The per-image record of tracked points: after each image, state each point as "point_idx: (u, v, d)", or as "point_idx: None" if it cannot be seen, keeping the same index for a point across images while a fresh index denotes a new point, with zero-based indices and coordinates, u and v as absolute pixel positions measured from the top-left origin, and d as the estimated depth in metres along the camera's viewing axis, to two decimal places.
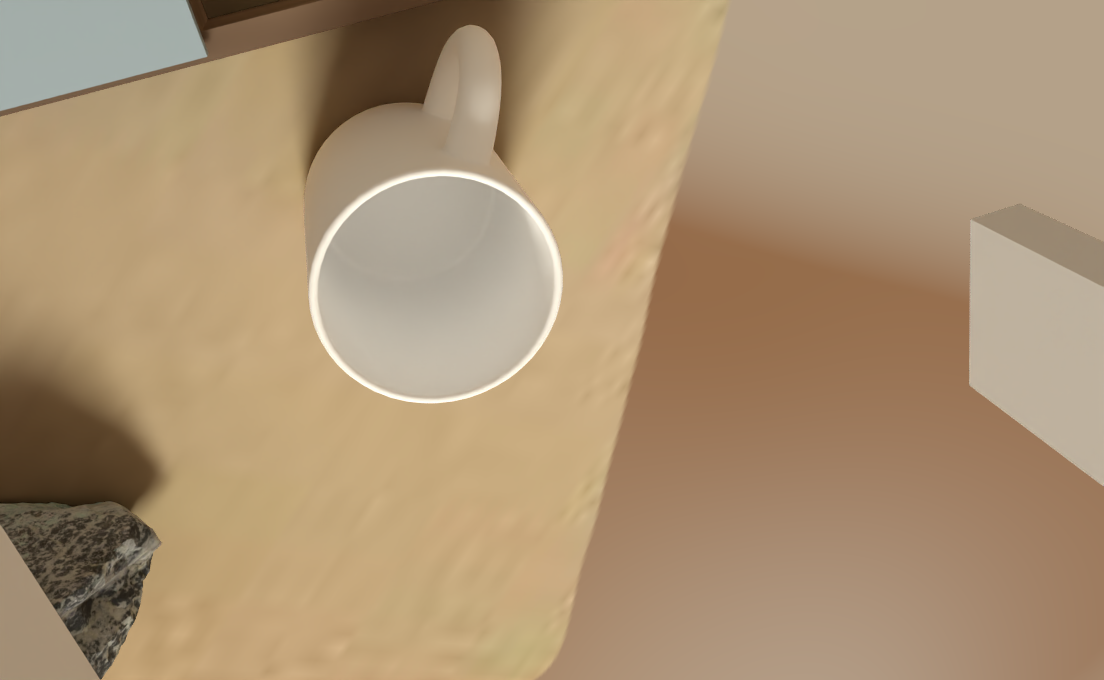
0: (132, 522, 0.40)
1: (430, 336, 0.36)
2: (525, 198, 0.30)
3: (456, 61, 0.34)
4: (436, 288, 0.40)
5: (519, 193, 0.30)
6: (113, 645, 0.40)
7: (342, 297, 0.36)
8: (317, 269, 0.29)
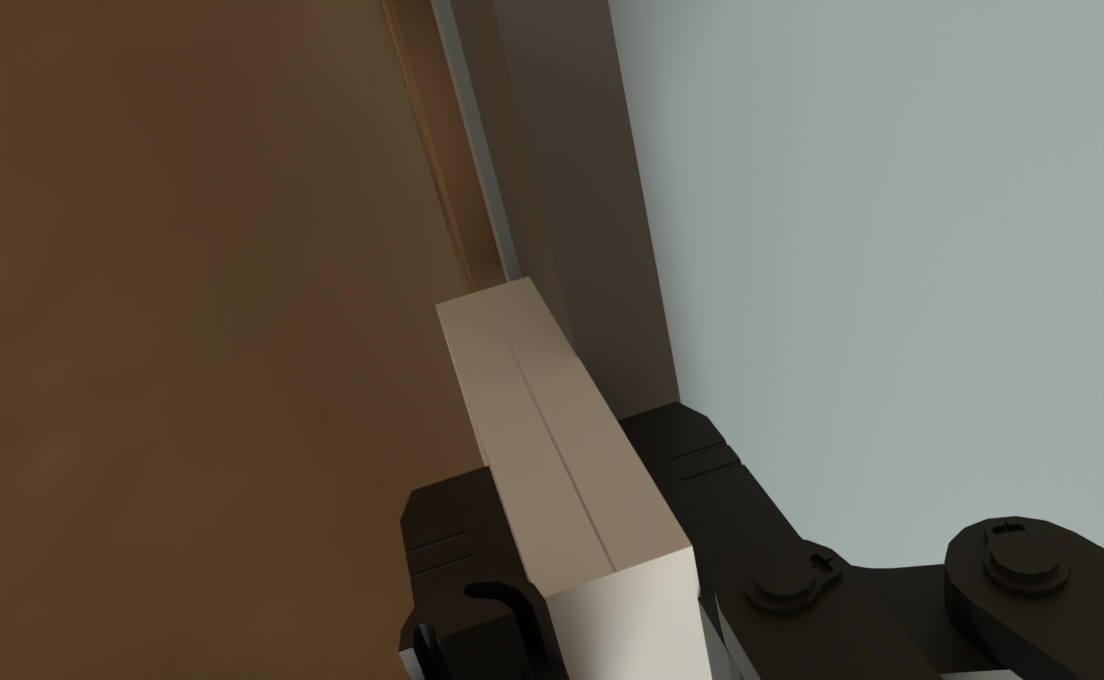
0: None
1: None
2: None
3: None
4: None
5: None
6: None
7: None
8: None
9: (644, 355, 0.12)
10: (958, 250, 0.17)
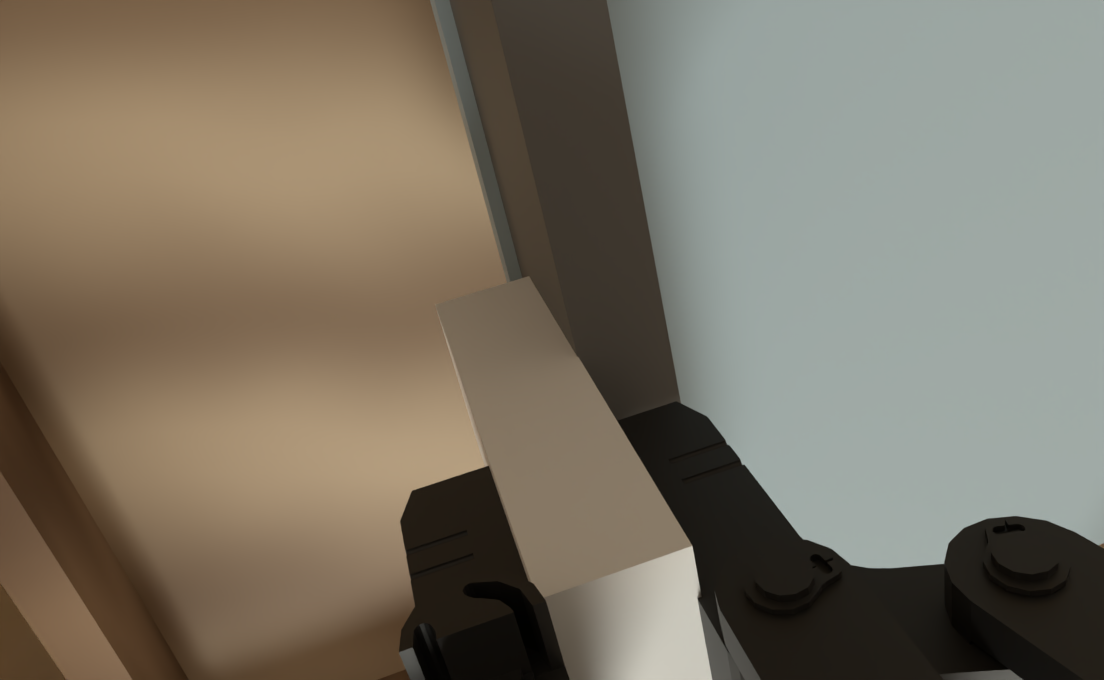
0: None
1: None
2: None
3: None
4: None
5: None
6: None
7: None
8: None
9: (643, 354, 0.12)
10: (957, 249, 0.17)
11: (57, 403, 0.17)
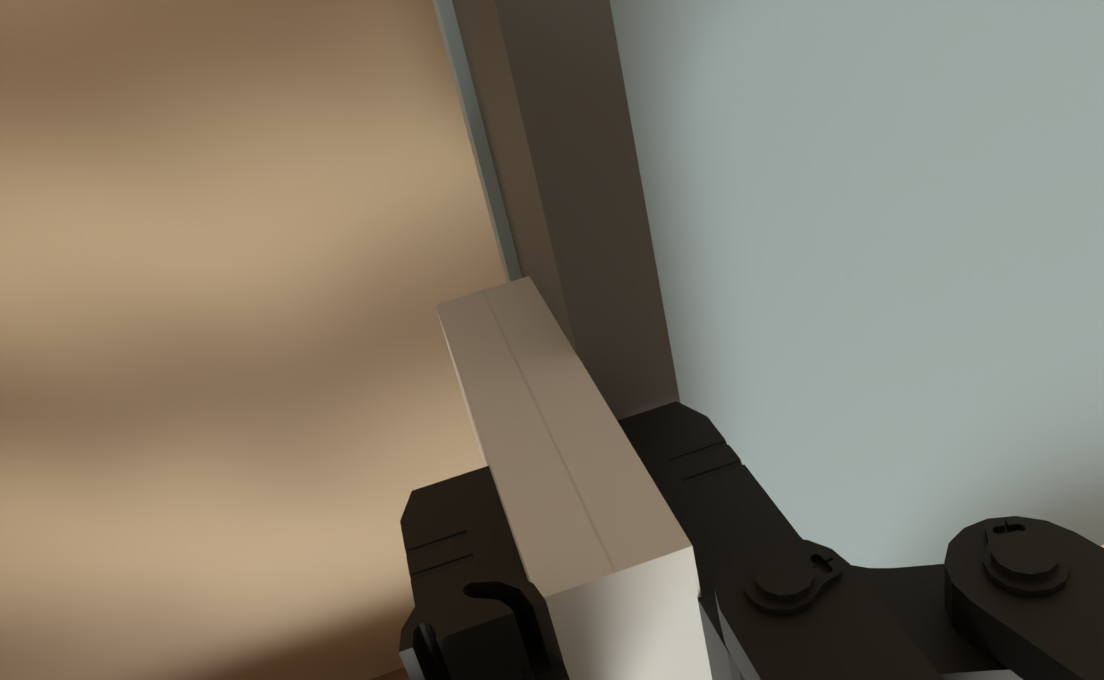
0: None
1: None
2: None
3: None
4: None
5: None
6: None
7: None
8: None
9: (643, 352, 0.12)
10: (957, 250, 0.17)
11: None
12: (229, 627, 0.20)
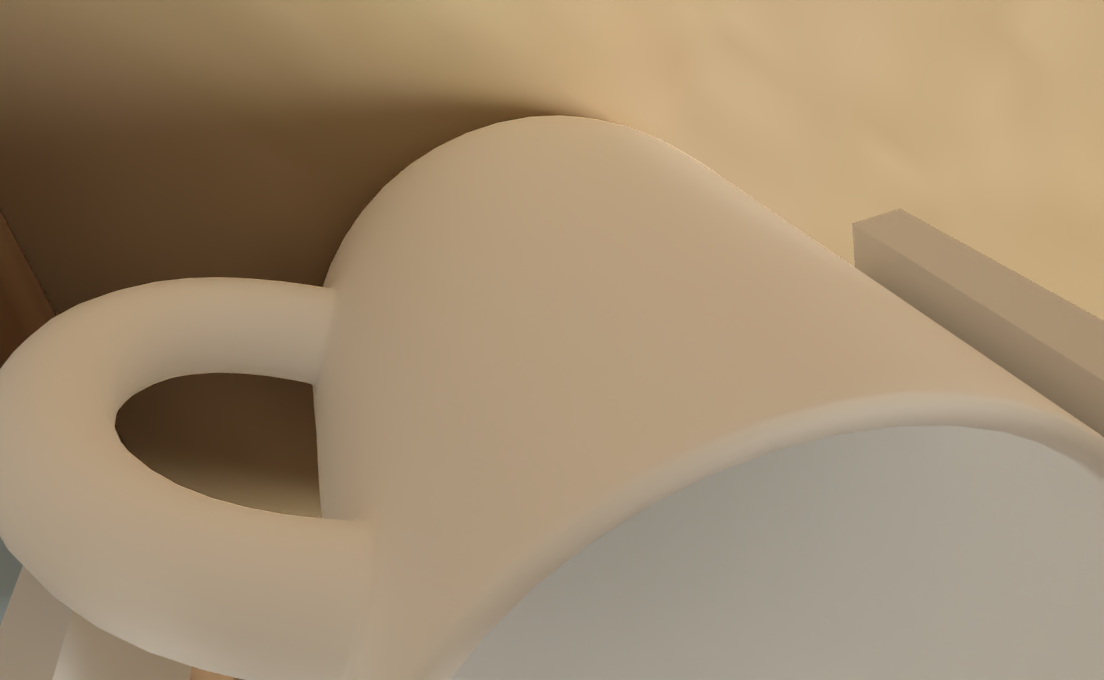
0: None
1: (887, 454, 0.14)
2: (481, 595, 0.07)
3: (139, 387, 0.12)
4: None
5: (458, 623, 0.07)
6: None
7: (739, 587, 0.16)
8: None
9: None
10: None
11: None
12: None
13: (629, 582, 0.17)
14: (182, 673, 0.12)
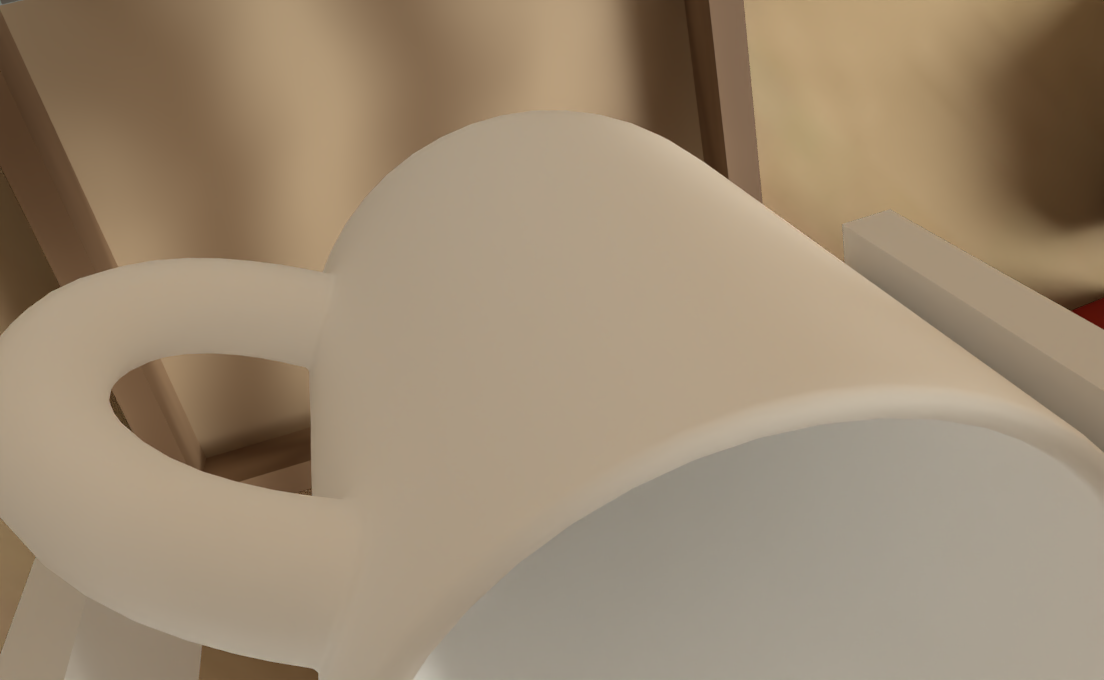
0: None
1: (878, 456, 0.14)
2: (464, 572, 0.07)
3: (136, 363, 0.12)
4: None
5: (440, 598, 0.07)
6: None
7: (727, 586, 0.16)
8: None
9: None
10: None
11: None
12: None
13: (617, 578, 0.17)
14: (192, 665, 0.12)
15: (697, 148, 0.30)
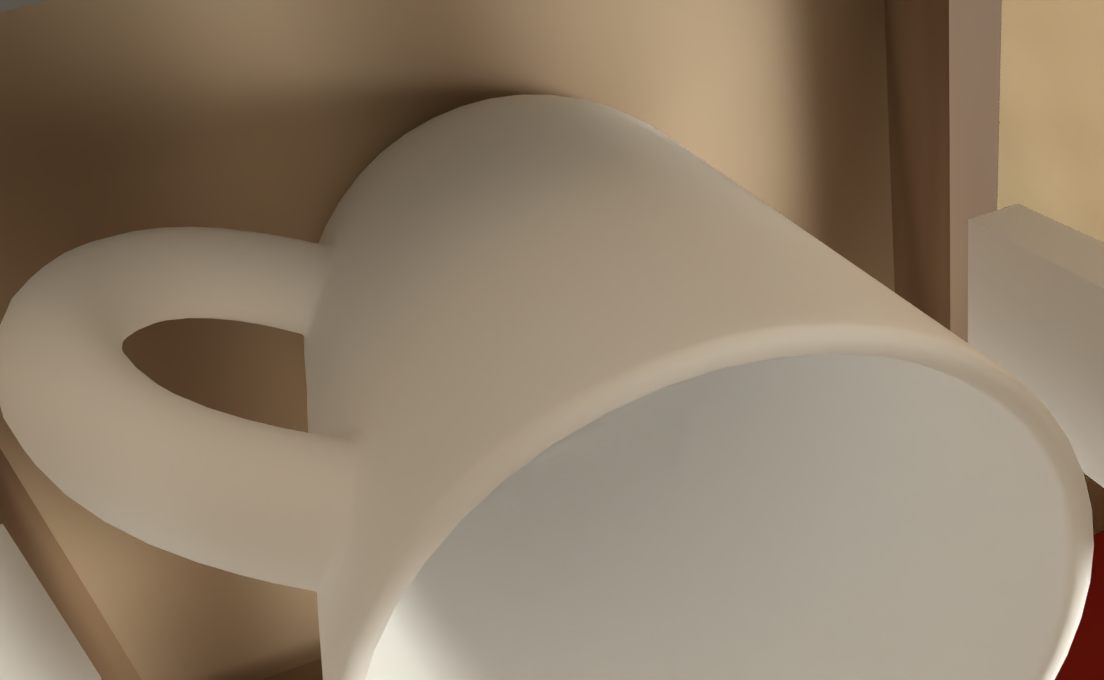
0: None
1: (841, 421, 0.15)
2: (457, 486, 0.08)
3: (143, 323, 0.13)
4: None
5: (435, 510, 0.08)
6: None
7: (700, 548, 0.17)
8: None
9: None
10: None
11: None
12: None
13: (596, 542, 0.18)
14: None
15: (886, 246, 0.20)
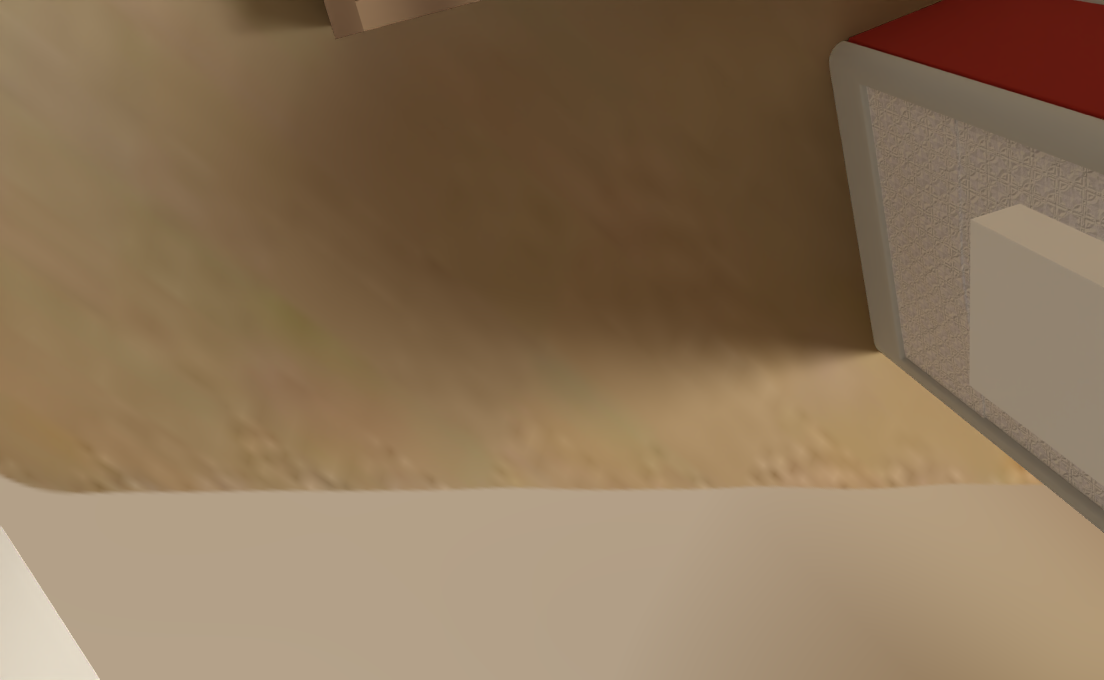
0: None
1: None
2: None
3: None
4: None
5: None
6: None
7: None
8: None
9: None
10: None
11: None
12: None
13: None
14: None
15: None
